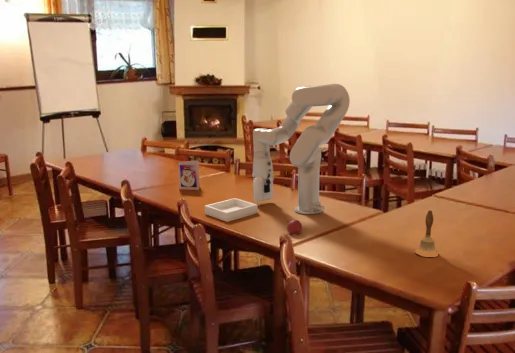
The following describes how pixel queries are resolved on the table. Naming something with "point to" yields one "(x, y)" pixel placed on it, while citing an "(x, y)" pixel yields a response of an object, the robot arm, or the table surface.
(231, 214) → the box
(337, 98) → the robot arm
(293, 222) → the fruit
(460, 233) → the table surface
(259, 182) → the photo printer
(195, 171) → the greeting card
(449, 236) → the table surface
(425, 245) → the hand bell
